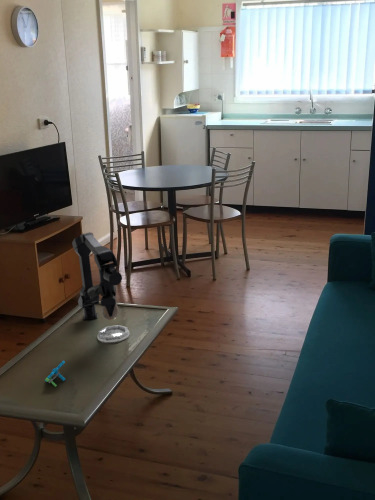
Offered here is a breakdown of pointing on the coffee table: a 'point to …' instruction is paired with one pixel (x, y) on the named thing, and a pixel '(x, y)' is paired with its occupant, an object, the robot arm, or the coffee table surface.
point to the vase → (108, 314)
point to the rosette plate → (113, 334)
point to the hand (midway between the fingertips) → (110, 313)
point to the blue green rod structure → (56, 372)
